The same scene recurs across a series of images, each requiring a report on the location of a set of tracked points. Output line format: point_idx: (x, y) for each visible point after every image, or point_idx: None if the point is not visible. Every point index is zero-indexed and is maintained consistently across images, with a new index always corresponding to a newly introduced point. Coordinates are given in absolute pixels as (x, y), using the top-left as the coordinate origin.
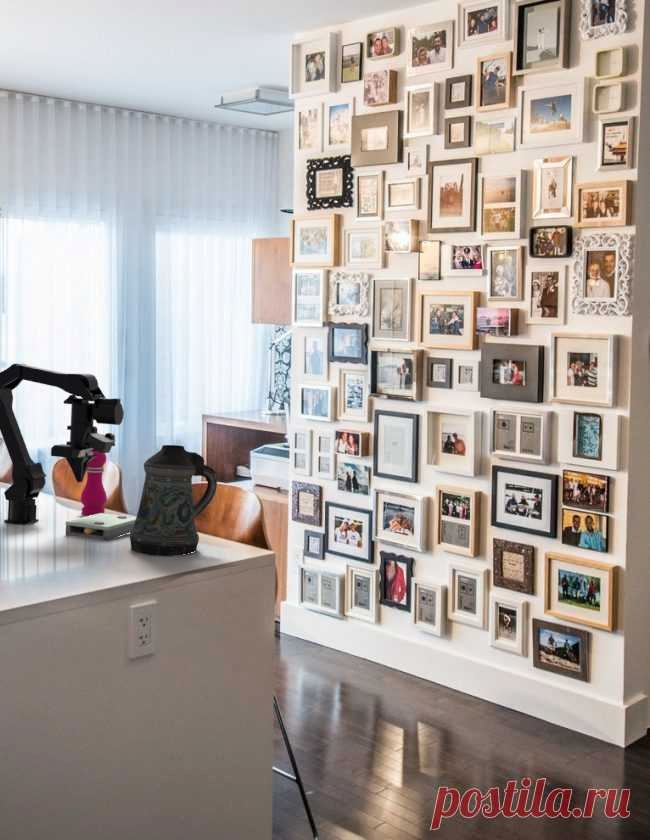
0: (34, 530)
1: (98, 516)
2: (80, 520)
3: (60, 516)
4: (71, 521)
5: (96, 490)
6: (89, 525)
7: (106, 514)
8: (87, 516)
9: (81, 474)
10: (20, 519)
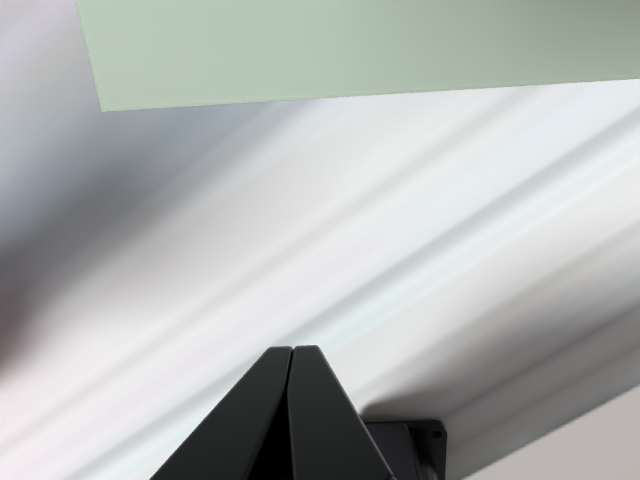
0: (551, 299)
1: (256, 16)
2: (542, 9)
3: (99, 432)
4: (631, 40)
5: None
6: None
7: (118, 27)
8: (325, 91)
9: (334, 416)
10: (430, 463)
